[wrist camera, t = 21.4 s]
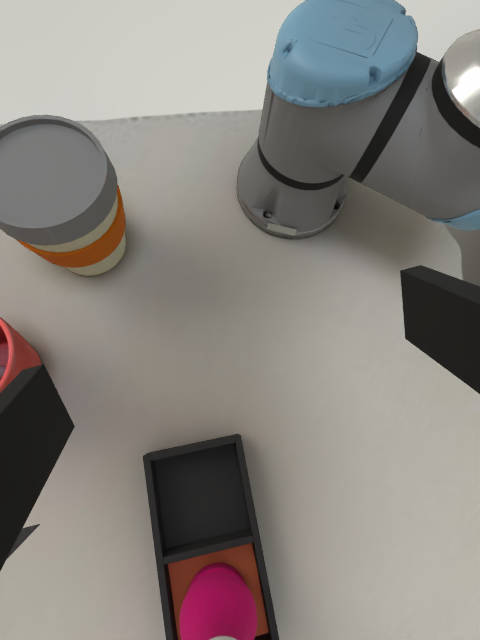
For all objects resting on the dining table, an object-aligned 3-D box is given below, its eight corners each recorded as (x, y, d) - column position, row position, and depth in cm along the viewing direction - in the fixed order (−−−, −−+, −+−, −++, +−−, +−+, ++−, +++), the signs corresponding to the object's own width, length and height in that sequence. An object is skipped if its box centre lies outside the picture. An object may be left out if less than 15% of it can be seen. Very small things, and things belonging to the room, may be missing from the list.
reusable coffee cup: (96, 184, 50) (50, 90, 35) (160, 245, 48) (138, 172, 34) (20, 242, 47) (-65, 165, 32) (85, 309, 45) (27, 259, 31)
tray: (238, 433, 43) (240, 435, 40) (276, 635, 38) (281, 653, 35) (147, 453, 42) (142, 455, 39) (174, 664, 37) (171, 685, 34)
